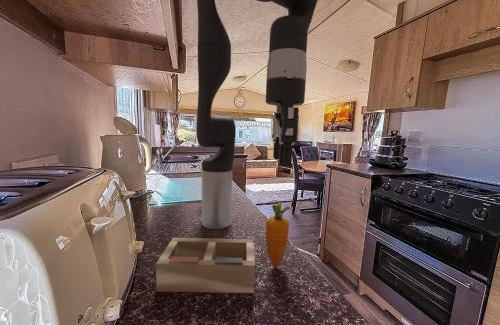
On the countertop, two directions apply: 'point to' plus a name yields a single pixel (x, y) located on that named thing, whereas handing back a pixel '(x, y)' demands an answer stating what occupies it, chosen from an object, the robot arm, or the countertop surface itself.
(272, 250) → the carrot
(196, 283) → the frame
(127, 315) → the countertop surface
